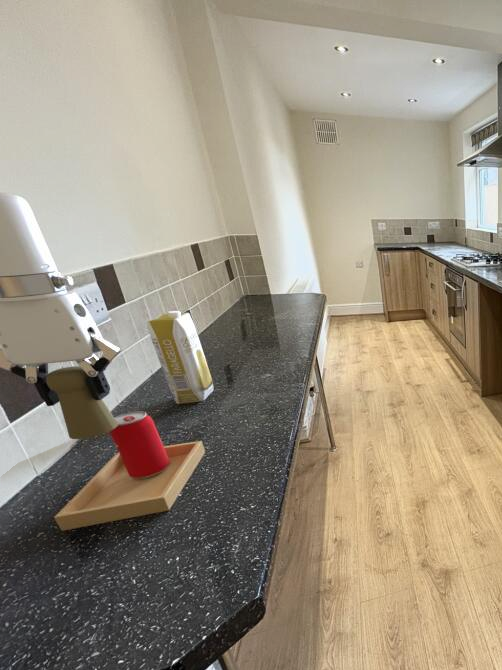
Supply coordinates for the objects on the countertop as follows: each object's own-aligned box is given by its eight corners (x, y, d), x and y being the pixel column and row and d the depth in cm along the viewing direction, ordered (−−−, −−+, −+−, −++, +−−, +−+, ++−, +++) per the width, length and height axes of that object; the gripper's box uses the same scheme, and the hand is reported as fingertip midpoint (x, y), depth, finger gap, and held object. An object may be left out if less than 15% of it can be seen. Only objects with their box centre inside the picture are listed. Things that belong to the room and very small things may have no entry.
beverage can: (163, 459, 84) (141, 406, 79) (177, 468, 81) (155, 414, 76) (124, 474, 79) (99, 420, 74) (138, 485, 76) (112, 428, 71)
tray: (61, 531, 66) (53, 517, 65) (121, 465, 83) (116, 453, 82) (169, 510, 71) (163, 497, 69) (205, 451, 88) (201, 440, 86)
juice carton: (206, 402, 110) (176, 314, 100) (171, 406, 108) (138, 317, 98) (218, 389, 118) (192, 306, 109) (186, 392, 116) (157, 308, 106)
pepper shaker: (59, 436, 66) (26, 374, 62) (101, 419, 72) (74, 360, 67) (86, 441, 65) (55, 377, 61) (127, 423, 70) (101, 363, 66)
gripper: (113, 279, 65) (153, 383, 72) (-32, 286, 60) (27, 398, 67) (86, 286, 58) (133, 401, 66) (-80, 295, 53) (-8, 418, 60)
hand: (79, 398), depth 66 cm, fingers closed on pepper shaker, 5 cm apart
